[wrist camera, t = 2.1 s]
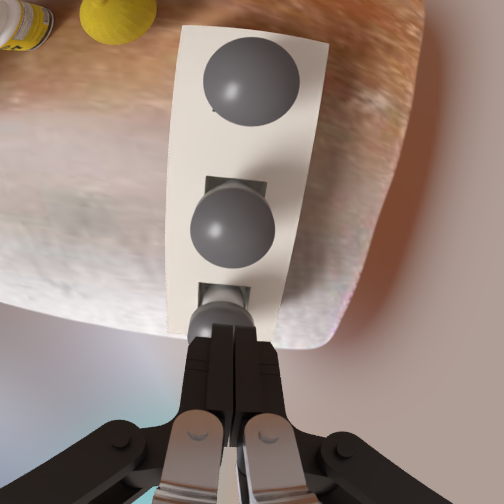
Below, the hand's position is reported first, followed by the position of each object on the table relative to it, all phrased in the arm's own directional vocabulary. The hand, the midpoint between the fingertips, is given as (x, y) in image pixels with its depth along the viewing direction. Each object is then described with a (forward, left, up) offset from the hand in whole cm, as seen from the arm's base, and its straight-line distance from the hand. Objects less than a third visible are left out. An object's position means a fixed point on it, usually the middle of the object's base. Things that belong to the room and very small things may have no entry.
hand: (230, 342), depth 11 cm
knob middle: (0, 0, -15) cm, 15 cm away
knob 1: (-6, +6, -15) cm, 17 cm away
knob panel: (0, 0, -19) cm, 19 cm away
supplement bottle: (-26, -4, -19) cm, 32 cm away
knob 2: (+6, -6, -15) cm, 17 cm away
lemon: (-18, +3, -19) cm, 26 cm away
